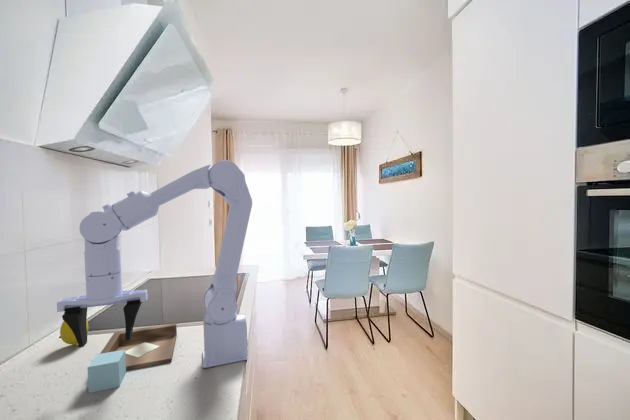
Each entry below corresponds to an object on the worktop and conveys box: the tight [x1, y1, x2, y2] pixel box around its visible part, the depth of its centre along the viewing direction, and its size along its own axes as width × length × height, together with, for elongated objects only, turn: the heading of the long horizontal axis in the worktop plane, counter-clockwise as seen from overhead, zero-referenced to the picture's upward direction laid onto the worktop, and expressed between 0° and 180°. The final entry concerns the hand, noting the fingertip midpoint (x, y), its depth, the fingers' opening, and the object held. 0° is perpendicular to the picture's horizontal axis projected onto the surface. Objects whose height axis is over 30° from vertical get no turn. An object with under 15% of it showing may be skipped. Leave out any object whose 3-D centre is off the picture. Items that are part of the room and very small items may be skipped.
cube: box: [87, 350, 127, 394], centre depth 59 cm, size 5×5×5 cm
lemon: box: [59, 319, 89, 346], centre depth 75 cm, size 6×6×8 cm
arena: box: [99, 323, 178, 371], centre depth 70 cm, size 14×14×3 cm
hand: (106, 341), depth 59 cm, fingers open, 7 cm apart
